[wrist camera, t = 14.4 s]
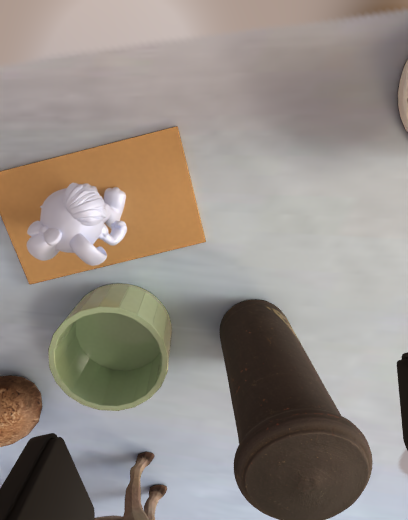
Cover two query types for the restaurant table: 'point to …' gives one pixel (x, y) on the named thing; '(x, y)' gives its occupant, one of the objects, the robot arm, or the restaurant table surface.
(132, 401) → the green bowl
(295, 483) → the container
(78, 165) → the mat
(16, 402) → the mushroom
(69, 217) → the toy figurine
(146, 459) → the toy
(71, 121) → the restaurant table surface
